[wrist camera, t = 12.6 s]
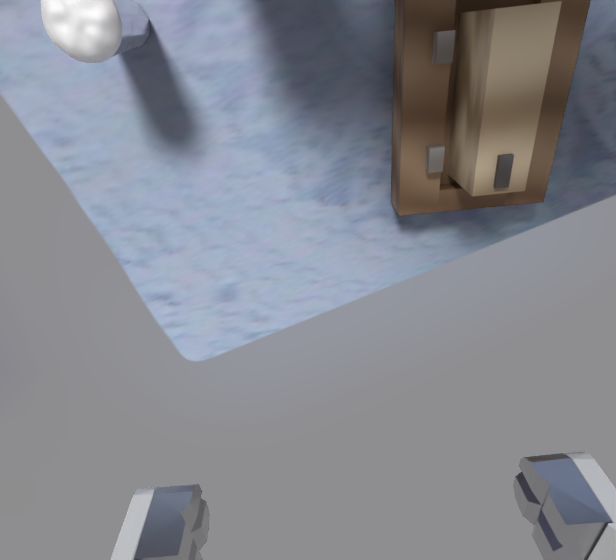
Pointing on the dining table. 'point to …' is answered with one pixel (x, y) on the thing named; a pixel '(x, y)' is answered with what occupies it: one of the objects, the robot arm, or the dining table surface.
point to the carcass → (439, 102)
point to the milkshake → (95, 27)
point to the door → (499, 95)
